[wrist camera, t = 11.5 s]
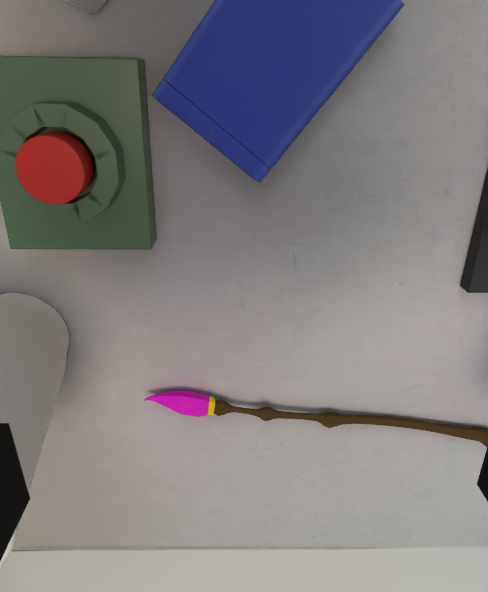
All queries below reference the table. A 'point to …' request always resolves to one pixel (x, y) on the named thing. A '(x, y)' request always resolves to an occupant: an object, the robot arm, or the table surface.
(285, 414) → the magic wand
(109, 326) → the table surface
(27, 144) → the stop button
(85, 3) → the container
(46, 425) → the cup
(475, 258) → the lever bracket
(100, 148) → the button block
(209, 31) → the hard drive
